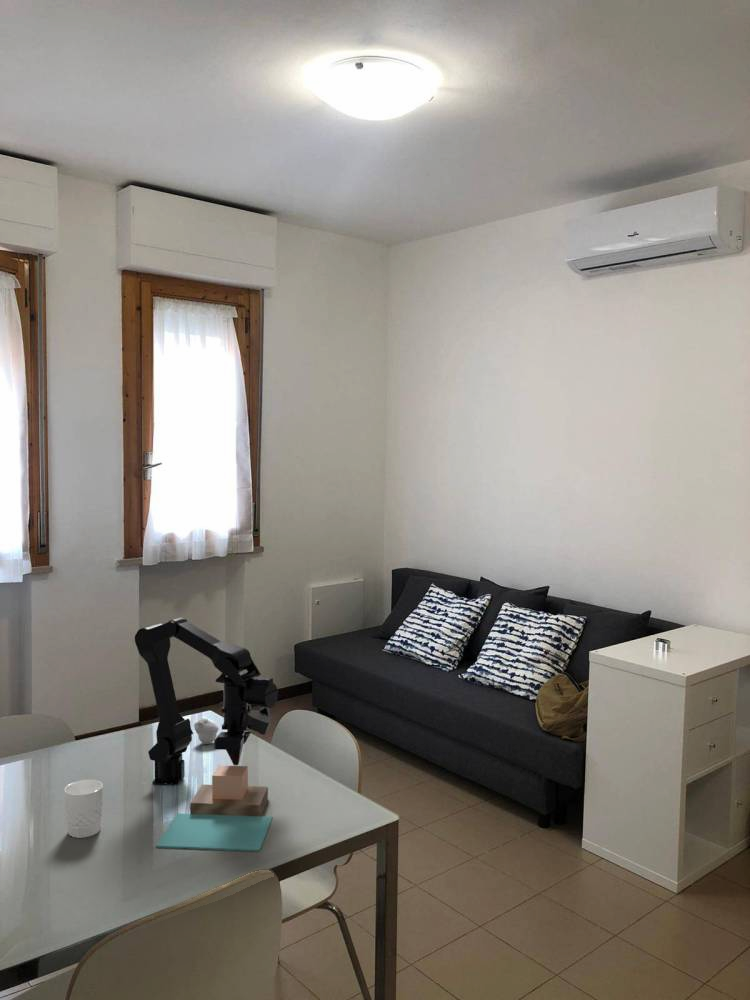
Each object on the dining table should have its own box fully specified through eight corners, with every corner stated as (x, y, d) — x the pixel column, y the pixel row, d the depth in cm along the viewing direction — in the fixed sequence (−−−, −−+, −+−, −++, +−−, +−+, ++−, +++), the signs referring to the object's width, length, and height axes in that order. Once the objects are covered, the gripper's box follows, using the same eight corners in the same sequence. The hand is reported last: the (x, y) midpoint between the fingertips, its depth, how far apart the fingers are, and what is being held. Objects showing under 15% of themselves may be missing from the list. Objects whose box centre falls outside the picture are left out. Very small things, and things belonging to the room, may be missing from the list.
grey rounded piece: (197, 738, 238) (197, 715, 237) (221, 740, 237) (221, 716, 237) (191, 746, 232) (190, 722, 231) (215, 748, 231) (215, 723, 231)
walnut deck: (190, 815, 190) (190, 802, 190) (202, 796, 200) (201, 784, 200) (259, 818, 189) (259, 805, 189) (267, 798, 199) (267, 786, 199)
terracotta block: (212, 798, 192) (212, 775, 192) (218, 787, 198) (218, 765, 198) (242, 799, 192) (242, 776, 191) (247, 788, 198) (247, 766, 197)
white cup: (110, 826, 185) (110, 782, 184) (87, 842, 177) (86, 797, 177) (81, 820, 187) (80, 777, 187) (57, 836, 180) (56, 791, 179)
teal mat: (156, 847, 175) (156, 845, 175) (177, 815, 190) (177, 813, 190) (259, 851, 174) (259, 849, 174) (272, 818, 189) (272, 816, 189)
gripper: (261, 715, 190) (261, 781, 191) (275, 690, 208) (276, 750, 209) (213, 714, 190) (214, 780, 191) (231, 689, 209) (232, 749, 210)
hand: (236, 764), depth 200 cm, fingers closed
